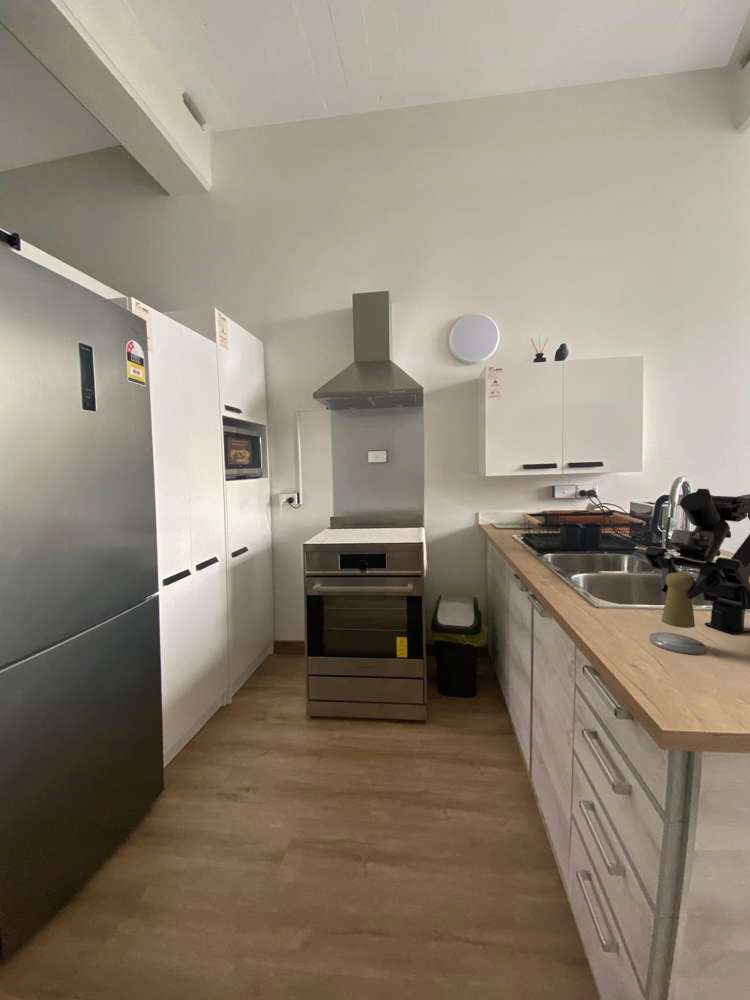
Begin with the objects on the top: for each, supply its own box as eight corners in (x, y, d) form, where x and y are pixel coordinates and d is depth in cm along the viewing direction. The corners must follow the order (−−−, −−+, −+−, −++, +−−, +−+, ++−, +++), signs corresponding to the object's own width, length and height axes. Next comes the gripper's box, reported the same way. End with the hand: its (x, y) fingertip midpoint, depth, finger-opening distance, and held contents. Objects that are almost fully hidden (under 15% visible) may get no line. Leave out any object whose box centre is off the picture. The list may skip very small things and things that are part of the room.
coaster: (672, 633, 100) (672, 630, 100) (716, 651, 91) (716, 647, 91) (638, 638, 98) (638, 634, 98) (680, 656, 88) (680, 652, 88)
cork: (702, 627, 91) (705, 576, 90) (676, 628, 91) (679, 577, 90) (678, 617, 97) (681, 569, 96) (654, 618, 97) (656, 570, 96)
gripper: (649, 512, 102) (618, 563, 98) (745, 521, 86) (712, 582, 81) (667, 542, 106) (638, 591, 102) (761, 555, 90) (731, 615, 86)
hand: (675, 594), depth 93 cm, fingers closed on cork, 5 cm apart
